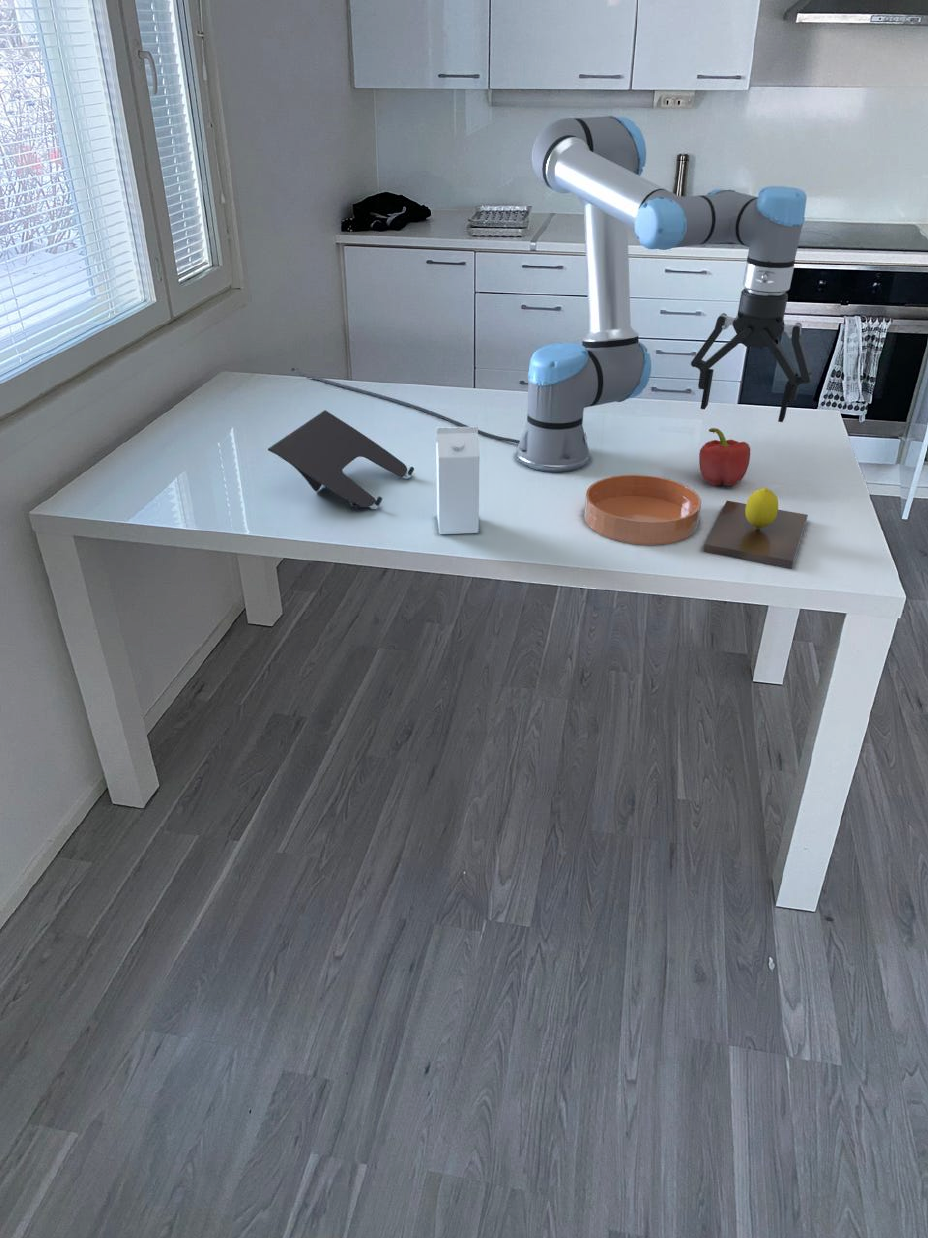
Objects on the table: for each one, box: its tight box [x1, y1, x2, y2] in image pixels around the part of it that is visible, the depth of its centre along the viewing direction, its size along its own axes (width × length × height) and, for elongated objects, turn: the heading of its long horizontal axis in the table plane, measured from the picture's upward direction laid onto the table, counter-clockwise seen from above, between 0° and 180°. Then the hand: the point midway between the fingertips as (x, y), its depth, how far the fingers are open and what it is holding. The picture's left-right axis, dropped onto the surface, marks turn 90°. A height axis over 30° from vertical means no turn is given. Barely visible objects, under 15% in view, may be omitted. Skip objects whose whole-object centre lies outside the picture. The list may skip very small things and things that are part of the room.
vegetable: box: [698, 427, 751, 487], centre depth 188 cm, size 11×10×10 cm
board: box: [703, 500, 809, 570], centre depth 169 cm, size 15×20×2 cm
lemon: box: [745, 487, 779, 529], centre depth 167 cm, size 6×6×8 cm
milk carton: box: [435, 426, 481, 535], centre depth 168 cm, size 7×7×19 cm
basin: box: [583, 474, 702, 546], centre depth 174 cm, size 21×21×4 cm
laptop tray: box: [267, 409, 415, 510], centre depth 186 cm, size 23×23×9 cm
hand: (742, 413), depth 166 cm, fingers open, 13 cm apart
